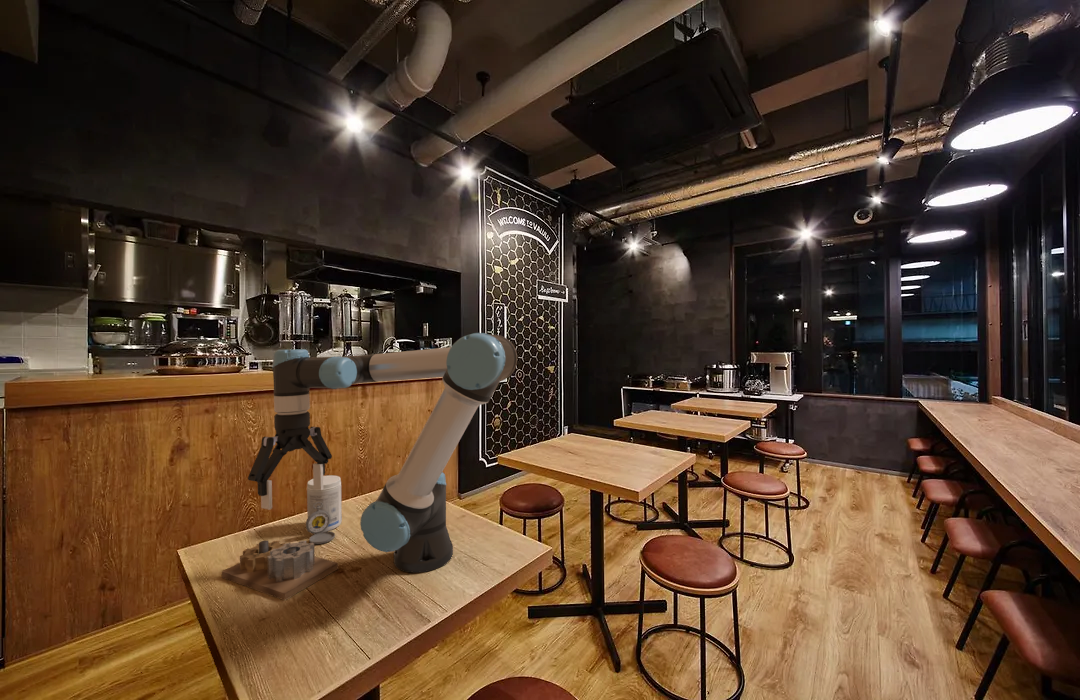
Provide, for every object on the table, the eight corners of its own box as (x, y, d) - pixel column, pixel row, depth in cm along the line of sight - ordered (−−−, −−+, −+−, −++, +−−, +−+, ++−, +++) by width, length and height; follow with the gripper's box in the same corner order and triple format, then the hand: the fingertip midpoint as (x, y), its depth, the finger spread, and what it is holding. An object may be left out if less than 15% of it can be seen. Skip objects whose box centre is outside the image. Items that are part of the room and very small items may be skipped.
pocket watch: (324, 546, 117) (323, 511, 116) (298, 543, 118) (297, 509, 118) (343, 533, 125) (343, 500, 124) (319, 531, 126) (318, 498, 126)
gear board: (338, 568, 105) (337, 543, 105) (284, 600, 92) (284, 571, 92) (277, 551, 114) (277, 527, 114) (221, 577, 101) (221, 551, 101)
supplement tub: (314, 521, 133) (313, 475, 133) (345, 518, 135) (345, 474, 135) (302, 534, 124) (301, 485, 124) (336, 532, 125) (335, 484, 125)
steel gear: (322, 564, 104) (322, 545, 104) (286, 585, 95) (285, 563, 95) (296, 557, 108) (296, 538, 108) (259, 576, 99) (259, 555, 99)
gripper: (325, 404, 115) (326, 480, 115) (227, 420, 91) (230, 515, 92) (345, 405, 112) (346, 483, 112) (249, 422, 89) (252, 520, 89)
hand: (294, 498), depth 102 cm, fingers open, 13 cm apart
